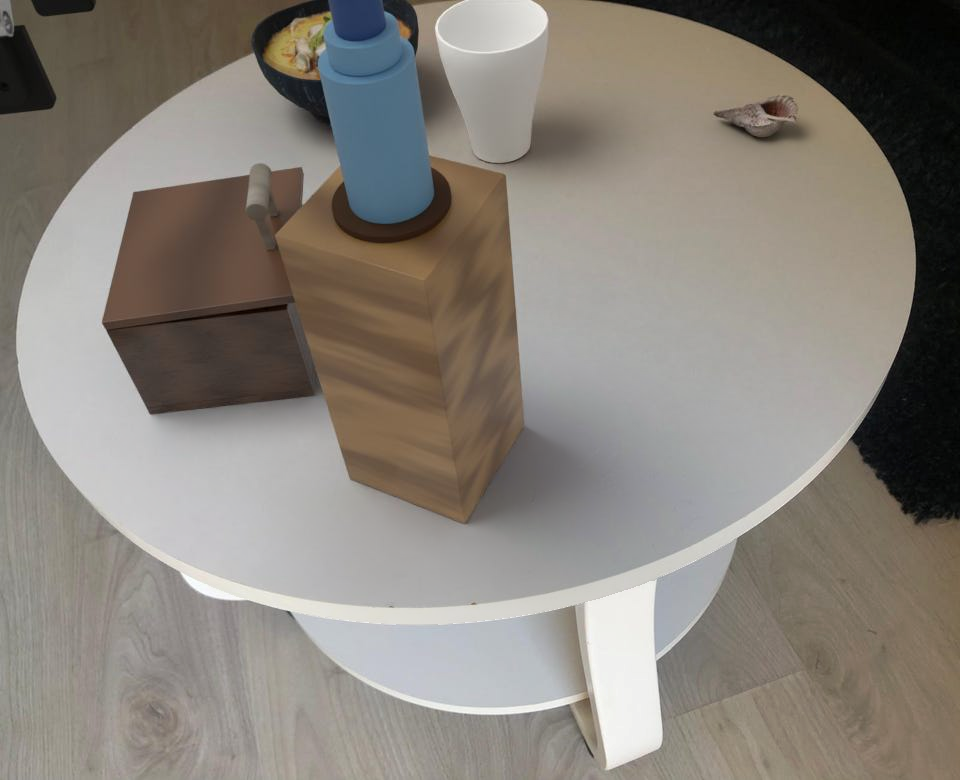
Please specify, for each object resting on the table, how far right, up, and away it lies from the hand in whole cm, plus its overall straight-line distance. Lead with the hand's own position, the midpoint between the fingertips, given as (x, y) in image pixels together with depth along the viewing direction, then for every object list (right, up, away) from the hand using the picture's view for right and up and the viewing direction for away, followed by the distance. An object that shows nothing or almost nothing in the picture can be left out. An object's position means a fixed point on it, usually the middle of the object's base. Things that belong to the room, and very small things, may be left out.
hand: (48, 57), depth 51 cm
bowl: (+8, +14, +58) cm, 60 cm away
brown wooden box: (+1, -12, +35) cm, 37 cm away
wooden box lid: (+1, -6, +28) cm, 28 cm away
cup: (+24, +8, +50) cm, 57 cm away
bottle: (+17, -6, +7) cm, 19 cm away
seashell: (+50, +9, +49) cm, 71 cm away
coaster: (+17, -6, +7) cm, 19 cm away
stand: (+19, -22, +25) cm, 38 cm away
